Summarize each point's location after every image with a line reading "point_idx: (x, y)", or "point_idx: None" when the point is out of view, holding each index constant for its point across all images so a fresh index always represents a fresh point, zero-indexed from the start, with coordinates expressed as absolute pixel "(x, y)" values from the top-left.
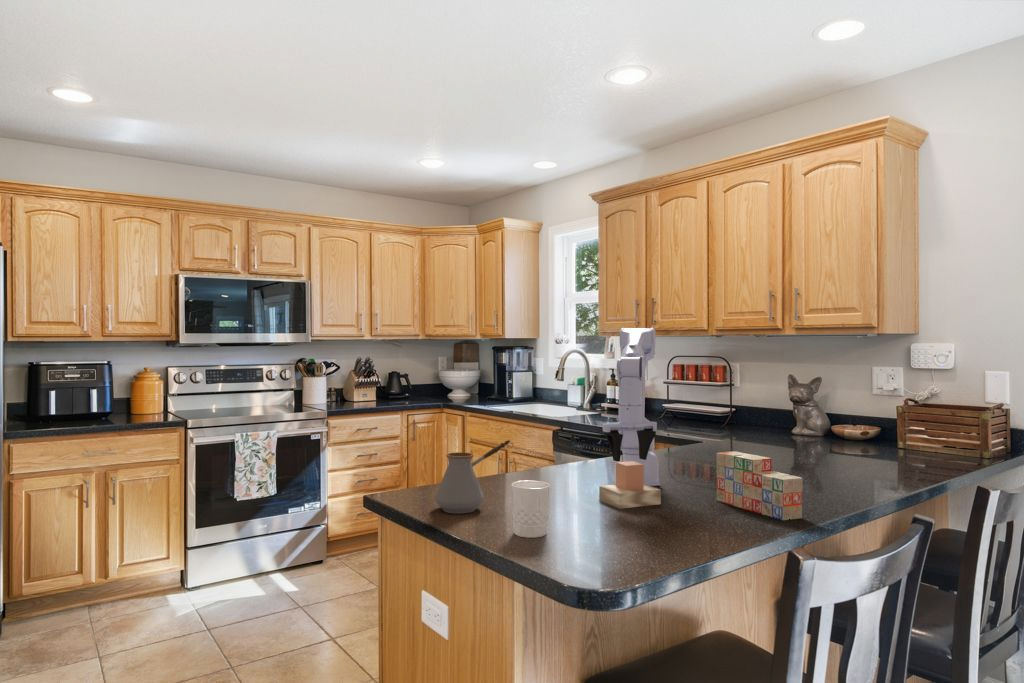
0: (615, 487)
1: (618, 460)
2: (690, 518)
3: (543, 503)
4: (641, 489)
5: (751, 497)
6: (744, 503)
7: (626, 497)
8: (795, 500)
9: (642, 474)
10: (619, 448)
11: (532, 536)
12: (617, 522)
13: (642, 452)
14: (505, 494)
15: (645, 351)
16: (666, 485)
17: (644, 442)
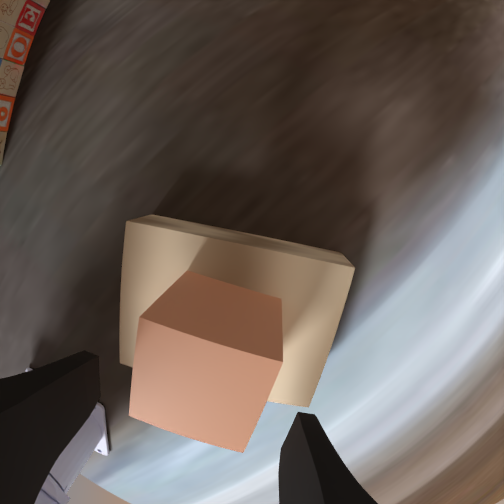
0: None
1: (312, 416)
2: (226, 21)
3: None
4: (201, 270)
5: (11, 28)
6: (16, 58)
7: (315, 255)
8: None
9: (170, 296)
10: (331, 477)
11: None
12: (465, 132)
13: (75, 398)
14: (423, 485)
15: None
16: (15, 358)
17: (24, 430)
